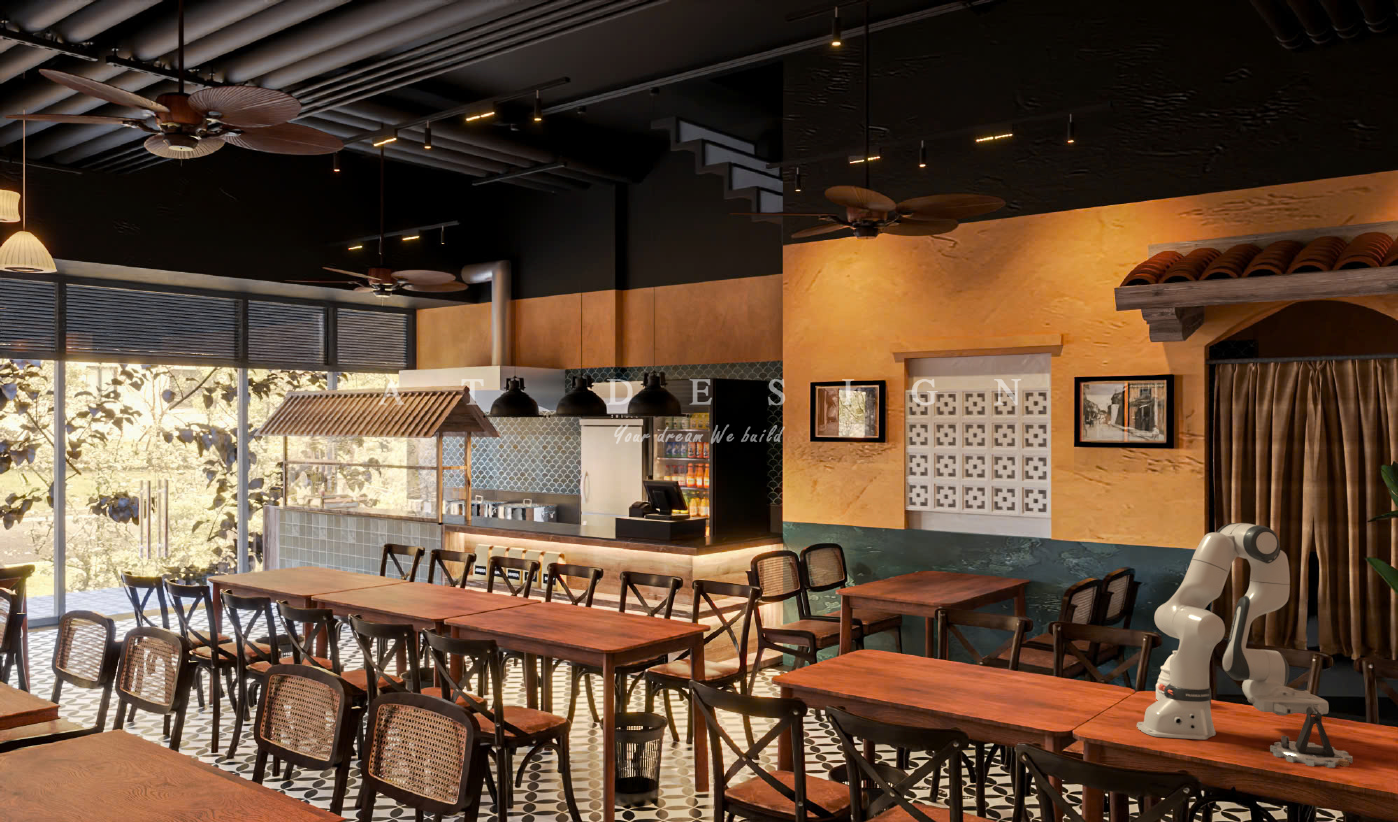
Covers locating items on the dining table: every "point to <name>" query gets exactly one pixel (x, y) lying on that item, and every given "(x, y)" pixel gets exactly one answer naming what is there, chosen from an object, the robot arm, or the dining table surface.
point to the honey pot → (1164, 677)
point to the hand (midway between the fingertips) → (1304, 711)
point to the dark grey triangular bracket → (1306, 733)
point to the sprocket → (1292, 754)
